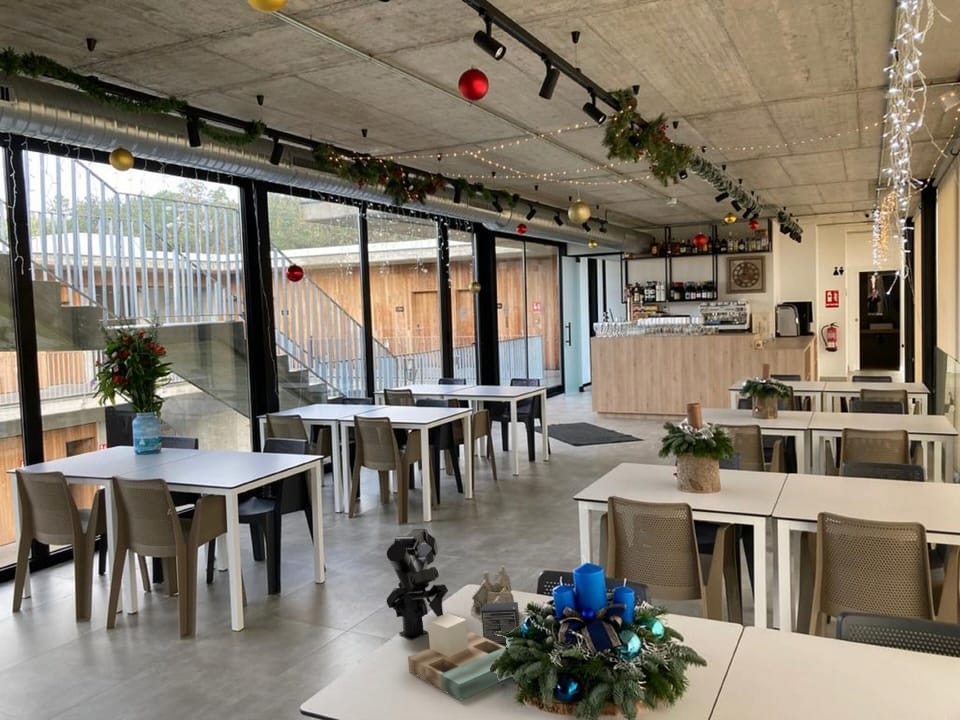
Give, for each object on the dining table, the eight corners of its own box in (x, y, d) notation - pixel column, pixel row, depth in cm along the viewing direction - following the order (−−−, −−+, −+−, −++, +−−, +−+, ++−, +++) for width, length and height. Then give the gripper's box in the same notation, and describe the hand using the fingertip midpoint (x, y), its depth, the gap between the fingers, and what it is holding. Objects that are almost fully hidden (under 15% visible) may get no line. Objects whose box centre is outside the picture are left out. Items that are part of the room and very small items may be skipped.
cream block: (429, 649, 209) (427, 621, 209) (448, 640, 214) (446, 613, 214) (449, 657, 203) (447, 627, 203) (468, 648, 208) (466, 619, 208)
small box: (520, 635, 224) (518, 600, 224) (519, 645, 218) (517, 609, 217) (485, 636, 225) (482, 602, 225) (483, 646, 219) (480, 610, 218)
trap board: (408, 671, 206) (407, 656, 205) (472, 645, 219) (471, 631, 219) (460, 700, 188) (459, 684, 188) (526, 670, 202) (525, 655, 201)
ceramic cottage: (478, 603, 252) (476, 560, 250) (525, 609, 245) (522, 565, 244) (459, 625, 238) (456, 579, 236) (508, 632, 231) (505, 585, 229)
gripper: (395, 558, 213) (417, 606, 204) (445, 556, 226) (468, 600, 216) (377, 583, 218) (397, 631, 208) (427, 579, 230) (449, 624, 221)
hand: (429, 620), depth 213 cm, fingers open, 9 cm apart
